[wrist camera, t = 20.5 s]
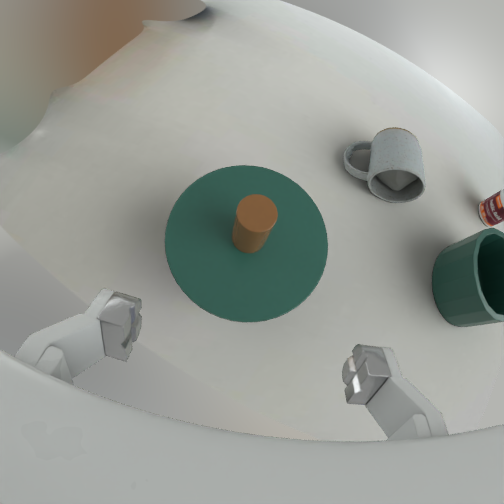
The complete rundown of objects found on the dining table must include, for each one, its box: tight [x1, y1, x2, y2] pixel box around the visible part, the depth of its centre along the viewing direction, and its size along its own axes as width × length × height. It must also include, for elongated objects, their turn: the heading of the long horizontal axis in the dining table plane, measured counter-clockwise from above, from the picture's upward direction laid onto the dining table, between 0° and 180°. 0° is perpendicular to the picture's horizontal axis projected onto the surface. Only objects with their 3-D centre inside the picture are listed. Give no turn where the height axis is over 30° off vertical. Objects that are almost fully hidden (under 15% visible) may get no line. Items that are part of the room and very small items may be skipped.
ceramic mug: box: [344, 127, 426, 203], centre depth 36 cm, size 11×8×8 cm
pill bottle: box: [479, 189, 504, 227], centre depth 37 cm, size 5×5×8 cm
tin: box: [432, 228, 504, 327], centre depth 33 cm, size 12×12×8 cm
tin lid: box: [165, 165, 328, 322], centre depth 22 cm, size 13×13×6 cm
